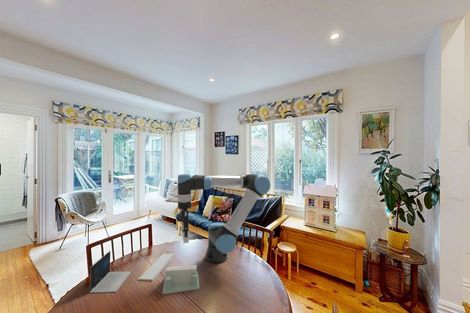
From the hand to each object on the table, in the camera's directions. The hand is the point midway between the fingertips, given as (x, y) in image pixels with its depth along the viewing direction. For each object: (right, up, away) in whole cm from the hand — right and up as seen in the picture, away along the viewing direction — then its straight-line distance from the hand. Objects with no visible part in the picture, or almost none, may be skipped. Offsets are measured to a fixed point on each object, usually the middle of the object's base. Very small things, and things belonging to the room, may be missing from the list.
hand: (185, 237), depth 115 cm
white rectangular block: (0, -20, -8) cm, 21 cm away
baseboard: (-20, -22, +9) cm, 31 cm away
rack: (0, -21, -8) cm, 23 cm away
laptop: (-37, -21, -8) cm, 43 cm away
